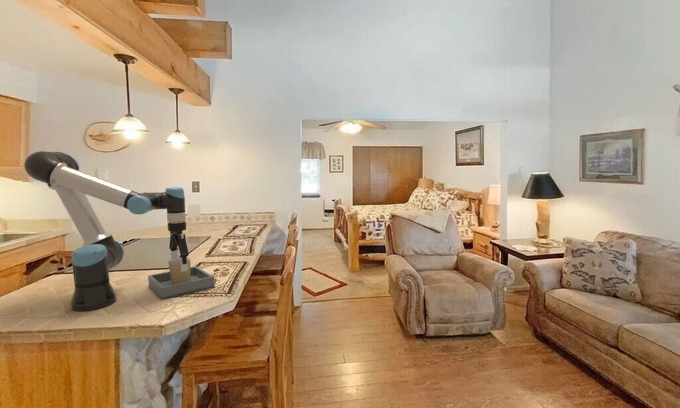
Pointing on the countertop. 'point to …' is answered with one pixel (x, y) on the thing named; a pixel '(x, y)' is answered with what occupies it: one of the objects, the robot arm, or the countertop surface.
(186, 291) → the walled box
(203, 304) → the countertop surface
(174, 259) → the coffee cup
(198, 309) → the countertop surface
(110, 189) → the robot arm
